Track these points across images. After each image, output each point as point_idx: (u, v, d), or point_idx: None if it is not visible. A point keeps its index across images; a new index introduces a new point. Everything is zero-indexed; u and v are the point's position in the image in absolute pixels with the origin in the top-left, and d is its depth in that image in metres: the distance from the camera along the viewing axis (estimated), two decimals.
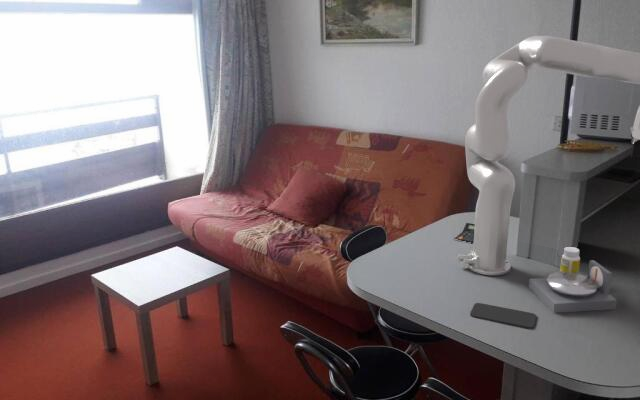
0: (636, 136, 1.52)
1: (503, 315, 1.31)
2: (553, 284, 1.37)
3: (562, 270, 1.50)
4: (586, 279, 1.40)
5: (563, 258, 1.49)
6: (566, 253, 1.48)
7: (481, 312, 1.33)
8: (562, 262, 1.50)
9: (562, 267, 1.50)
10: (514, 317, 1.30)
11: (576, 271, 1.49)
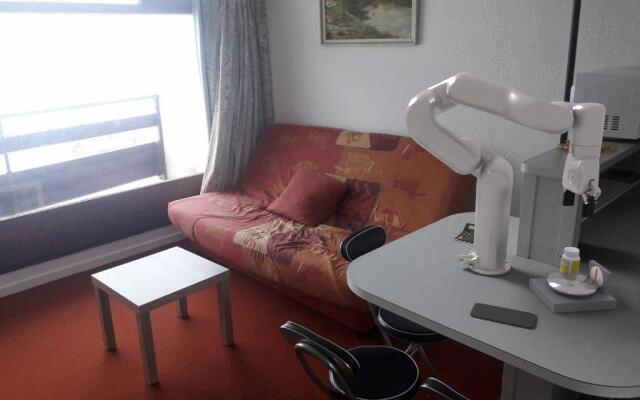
0: (565, 185, 1.45)
1: (503, 315, 1.31)
2: (553, 284, 1.37)
3: (562, 270, 1.50)
4: (586, 279, 1.40)
5: (563, 258, 1.49)
6: (566, 253, 1.48)
7: (481, 312, 1.33)
8: (562, 262, 1.50)
9: (562, 267, 1.50)
10: (514, 317, 1.30)
11: (576, 271, 1.49)
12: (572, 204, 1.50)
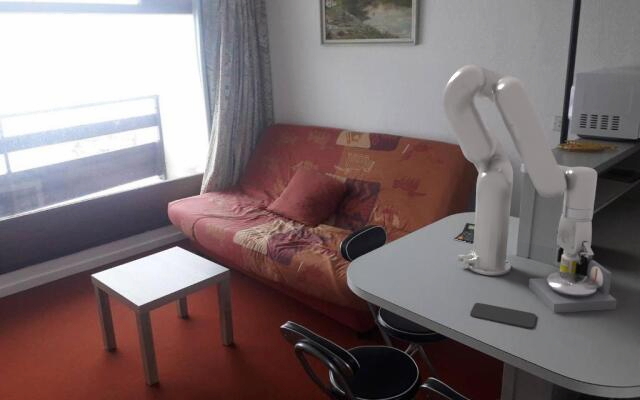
0: (560, 244, 1.50)
1: (503, 315, 1.31)
2: (553, 284, 1.37)
3: (562, 270, 1.50)
4: (586, 279, 1.40)
5: (563, 258, 1.49)
6: (566, 253, 1.48)
7: (481, 312, 1.33)
8: (562, 262, 1.50)
9: (562, 267, 1.50)
10: (514, 317, 1.30)
11: None
12: None
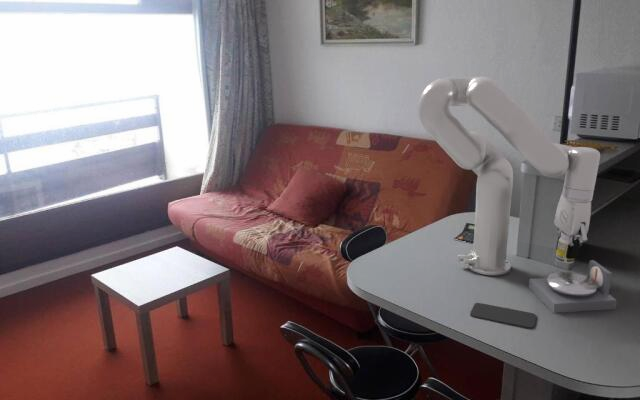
0: (557, 225, 1.49)
1: (503, 315, 1.31)
2: (553, 284, 1.37)
3: (559, 254, 1.49)
4: (586, 279, 1.40)
5: (560, 241, 1.48)
6: (564, 236, 1.47)
7: (481, 312, 1.33)
8: (559, 246, 1.49)
9: (559, 251, 1.49)
10: (514, 317, 1.30)
11: None
12: None
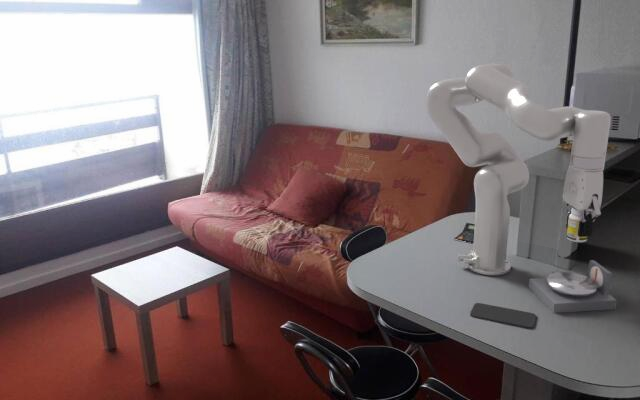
0: (566, 200, 1.34)
1: (503, 315, 1.31)
2: (553, 284, 1.37)
3: (570, 232, 1.33)
4: (586, 279, 1.40)
5: (571, 218, 1.32)
6: (574, 212, 1.31)
7: (481, 312, 1.33)
8: (570, 223, 1.33)
9: (570, 228, 1.33)
10: (514, 317, 1.30)
11: None
12: None
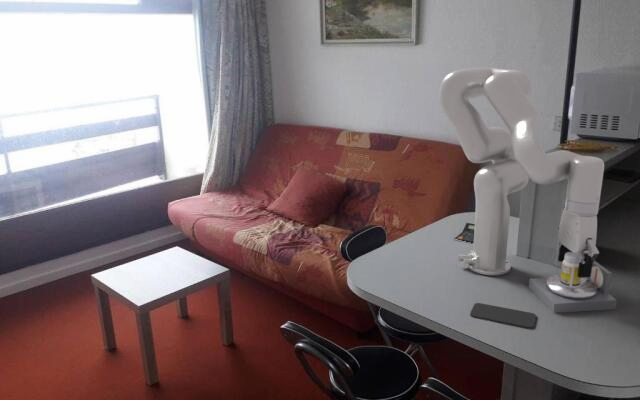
0: (561, 241, 1.37)
1: (503, 315, 1.31)
2: (553, 287, 1.37)
3: (563, 277, 1.37)
4: (586, 281, 1.40)
5: (564, 264, 1.36)
6: (567, 259, 1.36)
7: (481, 312, 1.33)
8: (563, 269, 1.37)
9: (563, 274, 1.37)
10: (514, 317, 1.30)
11: (578, 278, 1.36)
12: None
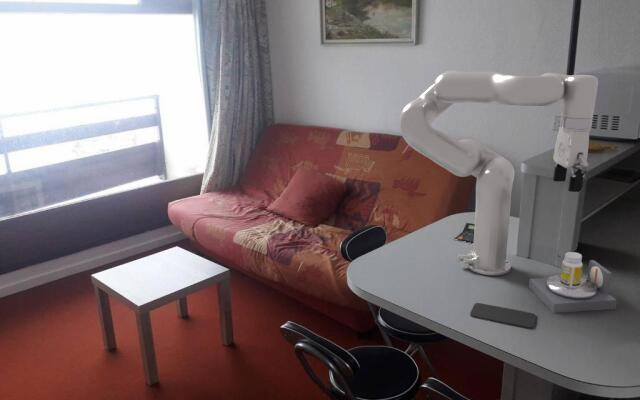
0: (556, 159, 1.44)
1: (503, 315, 1.31)
2: (553, 287, 1.37)
3: (563, 277, 1.37)
4: (586, 281, 1.40)
5: (564, 264, 1.36)
6: (567, 259, 1.36)
7: (481, 312, 1.33)
8: (563, 269, 1.37)
9: (563, 274, 1.37)
10: (514, 317, 1.30)
11: (578, 278, 1.36)
12: (563, 179, 1.48)
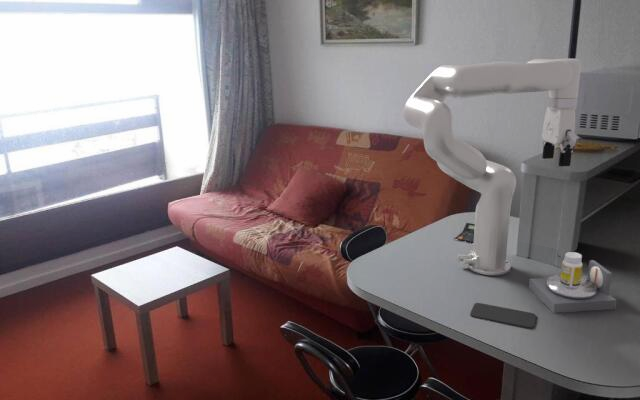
0: (545, 138, 1.55)
1: (503, 315, 1.31)
2: (553, 287, 1.37)
3: (563, 277, 1.37)
4: (586, 281, 1.40)
5: (564, 264, 1.36)
6: (567, 259, 1.36)
7: (481, 312, 1.33)
8: (563, 269, 1.37)
9: (563, 274, 1.37)
10: (514, 317, 1.30)
11: (578, 278, 1.36)
12: (551, 156, 1.60)
